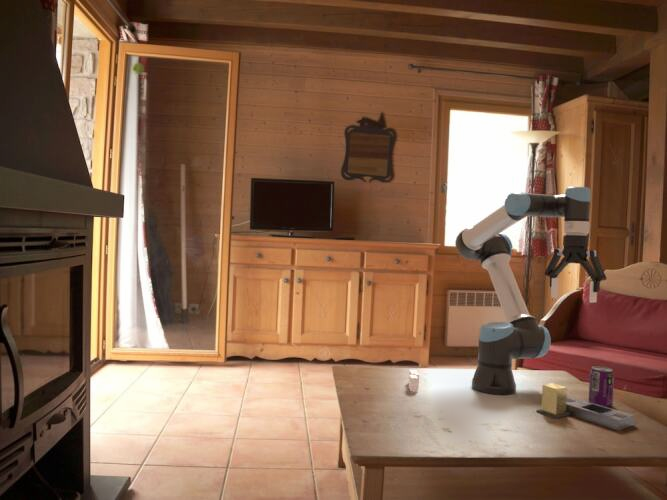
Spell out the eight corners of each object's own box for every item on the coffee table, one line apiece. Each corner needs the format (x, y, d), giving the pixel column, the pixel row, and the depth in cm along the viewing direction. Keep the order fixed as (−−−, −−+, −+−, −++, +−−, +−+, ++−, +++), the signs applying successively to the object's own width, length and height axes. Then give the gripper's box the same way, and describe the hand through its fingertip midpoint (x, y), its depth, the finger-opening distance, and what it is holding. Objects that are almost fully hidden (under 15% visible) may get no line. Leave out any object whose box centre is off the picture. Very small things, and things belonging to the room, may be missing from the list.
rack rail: (548, 408, 167) (549, 398, 167) (565, 404, 172) (565, 394, 172) (617, 430, 149) (618, 419, 149) (634, 425, 154) (634, 414, 154)
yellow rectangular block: (541, 410, 162) (542, 385, 162) (551, 408, 165) (552, 383, 165) (556, 415, 158) (557, 389, 158) (565, 412, 161) (566, 387, 161)
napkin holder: (407, 381, 194) (408, 366, 194) (435, 388, 187) (436, 372, 187) (386, 390, 182) (387, 373, 182) (415, 397, 175) (416, 380, 175)
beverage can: (615, 409, 169) (617, 372, 168) (591, 406, 170) (593, 370, 170) (608, 402, 176) (610, 367, 175) (585, 400, 177) (587, 365, 177)
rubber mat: (536, 411, 163) (536, 410, 163) (550, 408, 167) (550, 406, 167) (557, 418, 157) (557, 416, 157) (570, 415, 161) (570, 413, 161)
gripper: (535, 233, 178) (532, 295, 179) (606, 234, 157) (603, 305, 158) (549, 234, 182) (546, 295, 183) (620, 235, 161) (617, 304, 162)
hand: (572, 299), depth 170 cm, fingers open, 13 cm apart
